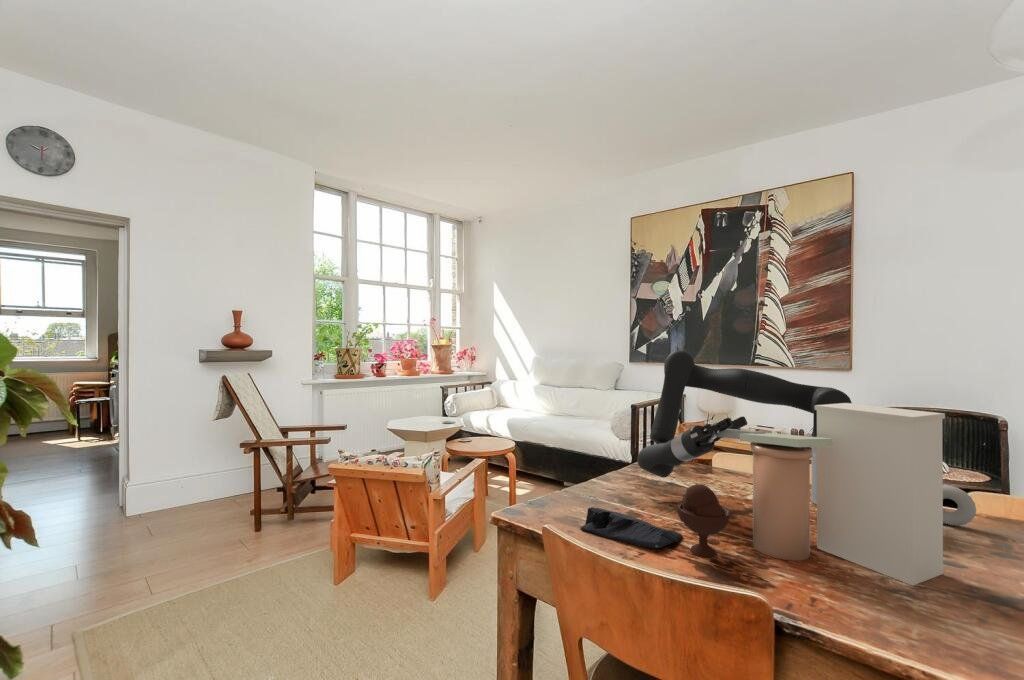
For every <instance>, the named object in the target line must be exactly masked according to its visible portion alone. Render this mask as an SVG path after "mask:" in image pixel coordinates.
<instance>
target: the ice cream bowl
mask: <svg viewBox="0 0 1024 680" xmlns="http://www.w3.org/2000/svg"><path fill="white" fill-rule="evenodd" d="M676 510H677V511H676V512H677V516H678V517H679V519H680V521H681V522H682V523H683V524H684V525H685V526H686V527H687V528H688V529H690V530H691V531H692V532H693V533H696V534H697V535H698V543H696V544H694V545H691V547H690V550H689V552H690V553H691V552H692V553H691V554H692V555H694V554H695V555H694V556H697V557H699V556H700V558H705V557H706V559H711V558H716V557H717V555H718V553H717V550H716V549H714V548H713V547H712V546H710V545H709V544H708V537H709V536H710V535H711V536H712V535H715V534H718V533H720V532H721V531H723V530H724V529H725V528H726V527H727V525H728V522H729V519H730V516H731V510H730V509H728V508H726V507H724V506H723V505H721V504H720V501H719V498H718V497H717V495H716V494H715V492H714V490H712V489H711V488H710V487H709V486H707V485H705V484H701V483H700V484H698V483H697V484H693V485H690V486H688V488H687V489H686V491H685V494H684V495H683V496H682V501H681V502H679V503H678V504H677V506H676Z"/></svg>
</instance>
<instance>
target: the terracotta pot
mask: <svg viewBox="0 0 1024 680" xmlns="http://www.w3.org/2000/svg"><path fill="white" fill-rule="evenodd" d="M749 443H750V444H749V445H750V449H749V450H750V451H751V452H752V546H753V548H754V549H755V550H757V551H758V552H760V553H762V554H763V555H766V556H769V557H772V558H776V559H779V560H785V561H805V560H807V559H809V558H810V556H811V545H810V543H811V541H810V540H811V539H810V537H811V533H810V531H811V527H810V526H811V525H810V524H811V523H810V522H811V520H810V519H811V518H810V517H811V512H810V511H811V510H810V509H811V508H810V507H811V506H810V505H811V501H810V500H811V497H810V496H811V494H810V493H811V492H810V490H811V489H810V488H811V487H810V485H811V483H810V474H811V470H810V469H811V468H810V467H811V466H810V463H811V461H810V460H811V457H812V448H811V447H792V446H783V445H774V444H765V443H756V442H749Z"/></svg>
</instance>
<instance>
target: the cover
mask: <svg viewBox="0 0 1024 680" xmlns="http://www.w3.org/2000/svg"><path fill="white" fill-rule="evenodd" d="M718 437H724V438H723V439H725V438H726V439H735V440H736V439H737V440H739V441H741V442H746V443H747V442H749V443H751V442H756V443H765V444H774V445H783V446H792V447H825V446H832V439H831V438H820V437H811V436H809V435H808V436H807V435H795V434H787V433H783V434H782V433H774V432H773V433H770V432H768V433H766V431H757V430H746V429H741V430H737V429H726V430H724V431H721V433H719V434H718Z"/></svg>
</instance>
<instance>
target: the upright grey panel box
mask: <svg viewBox="0 0 1024 680" xmlns="http://www.w3.org/2000/svg"><path fill="white" fill-rule="evenodd" d="M815 410H817V437H820V438H831V439H832V446H825V447H817V505H816V548H817V549H818V550H821V551H823V552H825V553H828V554H831V555H834V556H835V557H839V558H840V559H844V560H847V561H849V562H852V563H854V564H856V565H859V566H861V567H863V568H867V569H869V570H872V571H874V572H877V573H879V574H881V575H885V576H887V577H888V578H889V577H890V578H891V579H895V580H897V581H900V582H903V583H905V584H908V585H910V586H915V585H918V584H922V583H924V582H926V581H928V580H931V579H934V578H936V577H939V576H942V575H944V527H943V526H944V523H943V509H944V507H943V505H944V504H943V502H944V499H943V485H944V483H943V481H944V480H943V479H944V478H943V477H944V476H943V475H944V474H943V471H944V470H943V465H944V464H943V463H944V462H943V455H944V454H943V420H944V419H946V413H943V412H933V411H924V410H914V409H905V408H897V407H896V408H895V407H886V406H879V405H870V404H869V405H868V404H859V403H852V404H851V403H839V404H826V405H815Z"/></svg>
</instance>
